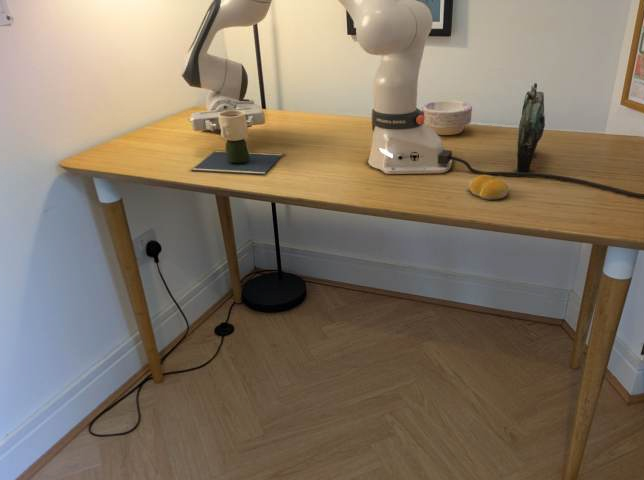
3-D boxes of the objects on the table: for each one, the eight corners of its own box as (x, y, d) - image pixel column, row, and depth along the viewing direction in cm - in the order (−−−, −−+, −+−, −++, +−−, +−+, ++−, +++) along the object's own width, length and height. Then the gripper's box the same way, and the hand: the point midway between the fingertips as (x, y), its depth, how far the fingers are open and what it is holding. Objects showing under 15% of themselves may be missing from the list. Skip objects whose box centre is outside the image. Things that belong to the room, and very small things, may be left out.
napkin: (283, 154, 158) (282, 153, 158) (263, 175, 145) (263, 173, 145) (216, 151, 162) (216, 150, 162) (191, 171, 148) (191, 169, 148)
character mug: (236, 154, 159) (229, 107, 152) (259, 156, 157) (253, 108, 150) (216, 167, 150) (208, 118, 143) (240, 169, 148) (233, 120, 141)
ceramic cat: (517, 149, 159) (527, 76, 149) (541, 151, 158) (552, 77, 147) (510, 174, 143) (520, 93, 133) (536, 176, 142) (548, 95, 131)
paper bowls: (420, 124, 182) (421, 99, 178) (467, 124, 181) (469, 99, 177) (422, 138, 169) (423, 112, 165) (472, 138, 169) (475, 112, 164)
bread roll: (493, 203, 128) (495, 187, 126) (463, 192, 134) (464, 176, 131) (515, 194, 132) (517, 178, 130) (485, 183, 138) (487, 168, 136)
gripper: (186, 105, 158) (190, 118, 147) (258, 99, 164) (267, 110, 153) (190, 128, 162) (194, 142, 151) (260, 120, 167) (269, 133, 156)
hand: (231, 126), depth 152 cm, fingers open, 8 cm apart
